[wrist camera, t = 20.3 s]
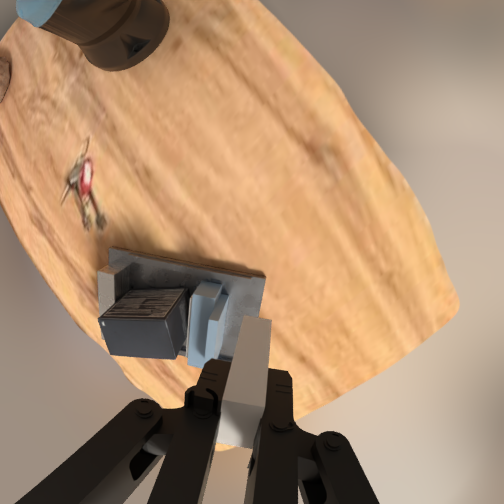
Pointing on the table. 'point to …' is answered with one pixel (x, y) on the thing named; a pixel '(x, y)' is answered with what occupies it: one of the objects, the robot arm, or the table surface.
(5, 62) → the stone
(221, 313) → the sliding jaw
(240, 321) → the vise
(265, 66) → the table surface
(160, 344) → the small box
